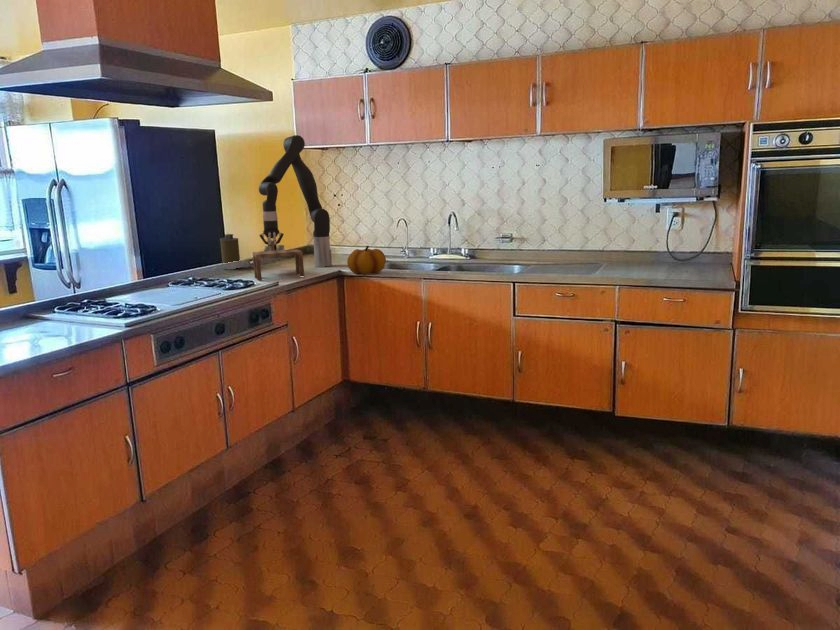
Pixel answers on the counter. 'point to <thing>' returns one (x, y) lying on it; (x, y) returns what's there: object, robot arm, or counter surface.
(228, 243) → the canister
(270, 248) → the tray
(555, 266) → the counter surface
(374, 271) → the decorative pumpkin
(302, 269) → the wooden rack
